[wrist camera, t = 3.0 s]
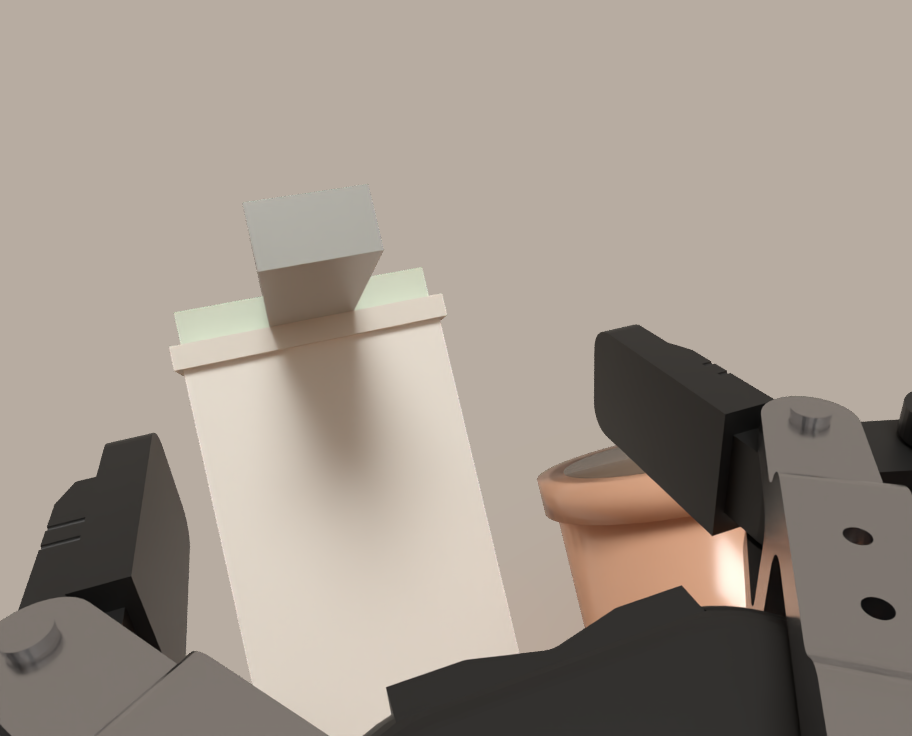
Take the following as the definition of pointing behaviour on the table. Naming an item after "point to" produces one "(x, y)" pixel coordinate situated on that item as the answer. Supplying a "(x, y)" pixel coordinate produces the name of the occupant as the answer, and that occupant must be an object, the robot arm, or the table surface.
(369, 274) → the cover
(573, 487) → the terracotta pot
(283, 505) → the upright grey panel box
